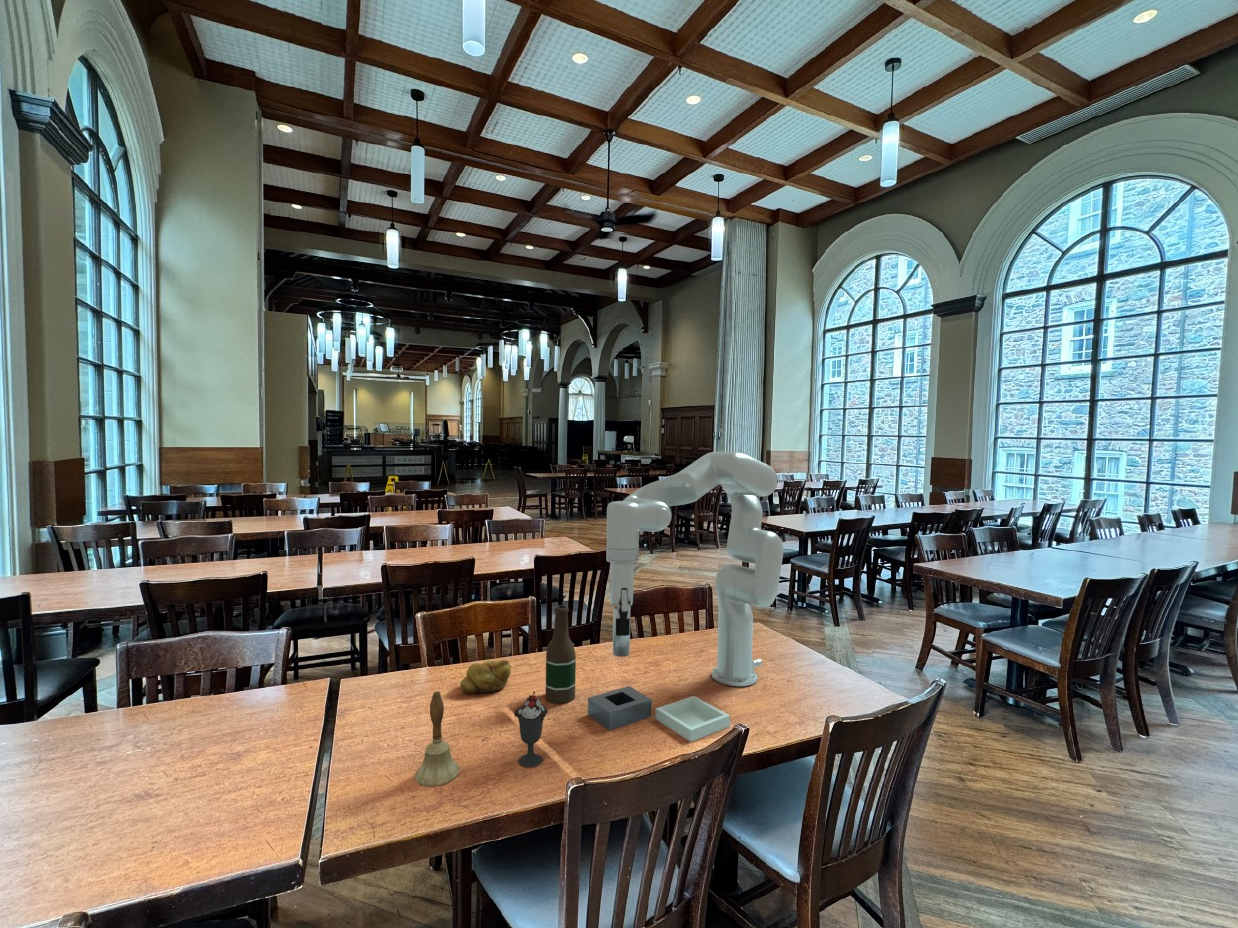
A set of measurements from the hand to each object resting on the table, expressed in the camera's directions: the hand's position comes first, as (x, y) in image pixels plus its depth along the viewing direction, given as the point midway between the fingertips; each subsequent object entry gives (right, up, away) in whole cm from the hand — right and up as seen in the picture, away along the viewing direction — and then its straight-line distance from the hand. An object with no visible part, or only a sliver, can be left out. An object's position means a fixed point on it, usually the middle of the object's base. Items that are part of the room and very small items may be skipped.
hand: (621, 631), depth 129 cm
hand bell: (-36, -21, -22) cm, 47 cm away
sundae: (-19, -21, -17) cm, 33 cm away
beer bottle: (-15, -21, +9) cm, 28 cm away
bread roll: (-36, -20, +16) cm, 45 cm away
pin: (0, -5, 0) cm, 5 cm away
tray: (+16, -21, -2) cm, 27 cm away
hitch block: (0, -21, 0) cm, 21 cm away
